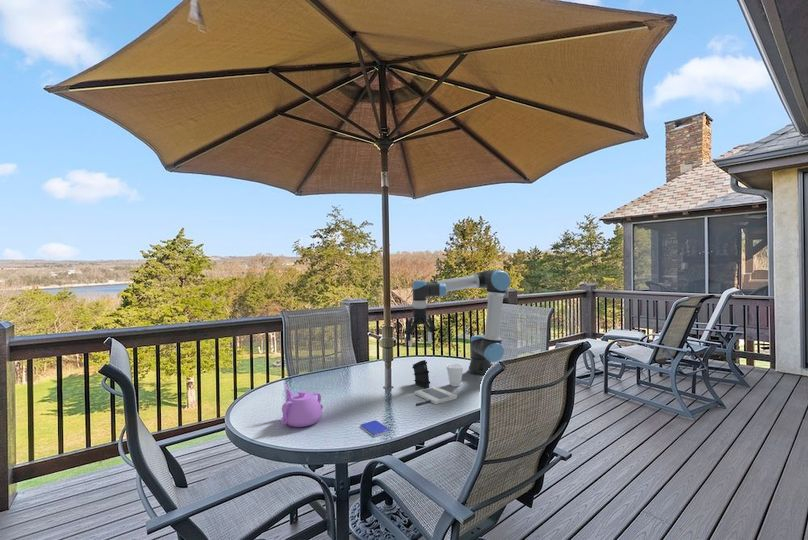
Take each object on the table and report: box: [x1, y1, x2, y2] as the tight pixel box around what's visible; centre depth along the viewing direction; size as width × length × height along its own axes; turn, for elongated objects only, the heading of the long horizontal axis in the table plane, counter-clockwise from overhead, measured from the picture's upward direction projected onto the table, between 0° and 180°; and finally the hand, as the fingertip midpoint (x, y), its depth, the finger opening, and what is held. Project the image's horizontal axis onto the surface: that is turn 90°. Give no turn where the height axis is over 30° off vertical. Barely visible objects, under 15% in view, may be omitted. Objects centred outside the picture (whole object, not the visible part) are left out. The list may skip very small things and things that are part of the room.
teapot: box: [280, 386, 324, 428], centre depth 179 cm, size 22×22×14 cm
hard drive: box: [359, 419, 392, 438], centre depth 169 cm, size 2×8×12 cm
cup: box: [446, 363, 465, 387], centre depth 225 cm, size 10×10×11 cm
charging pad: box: [414, 386, 458, 406], centre depth 205 cm, size 23×18×2 cm
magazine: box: [412, 359, 431, 389], centre depth 225 cm, size 4×13×15 cm, turn 29°
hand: (420, 344), depth 225 cm, fingers open, 13 cm apart
